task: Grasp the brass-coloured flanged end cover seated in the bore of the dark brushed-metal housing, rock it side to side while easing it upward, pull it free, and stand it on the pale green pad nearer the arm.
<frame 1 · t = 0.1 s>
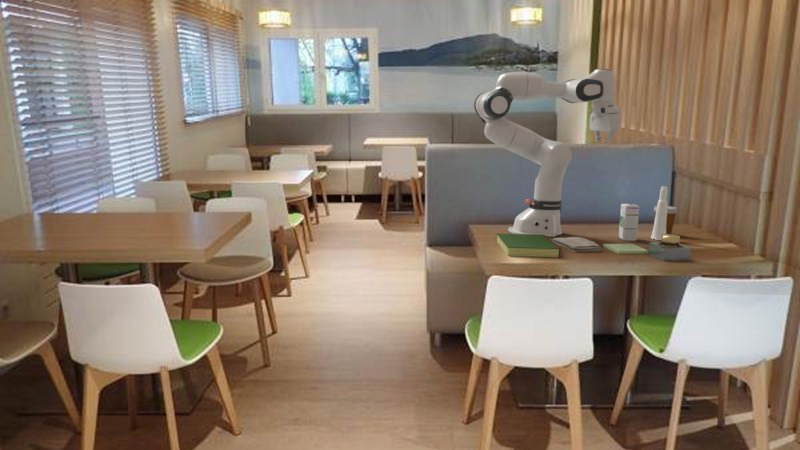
hand: (603, 142, 250), 39 cm above the table, tool pointing down, fingers open, 8 cm apart
syrup box: (626, 239, 244), on the table
disposable coffee cup: (662, 234, 257), on the table
pad: (625, 249, 224), on the table
washcloth: (575, 248, 228), on the table
housing: (668, 257, 214), on the table
hardcover book: (526, 250, 222), on the table
cosmetic bottle: (658, 239, 246), on the table
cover: (669, 246, 213), in the housing
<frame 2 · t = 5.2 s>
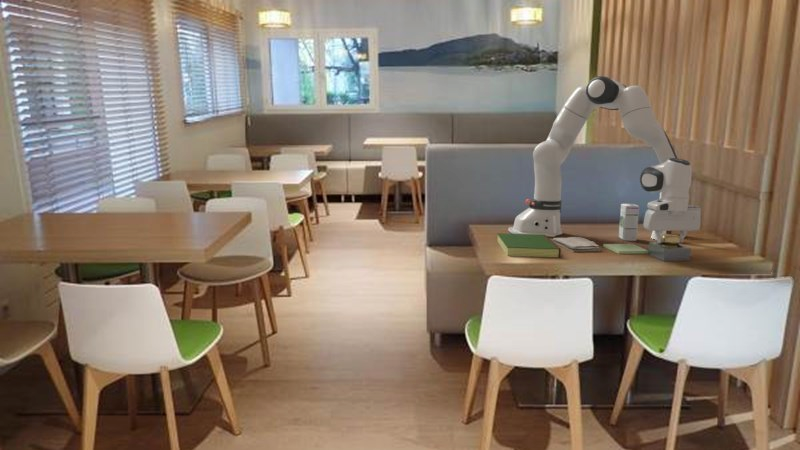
hand: (670, 242, 213), 5 cm above the table, tool pointing down, fingers closed on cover, 6 cm apart
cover: (669, 246, 213), in the housing, touching gripper
everything else where it was.
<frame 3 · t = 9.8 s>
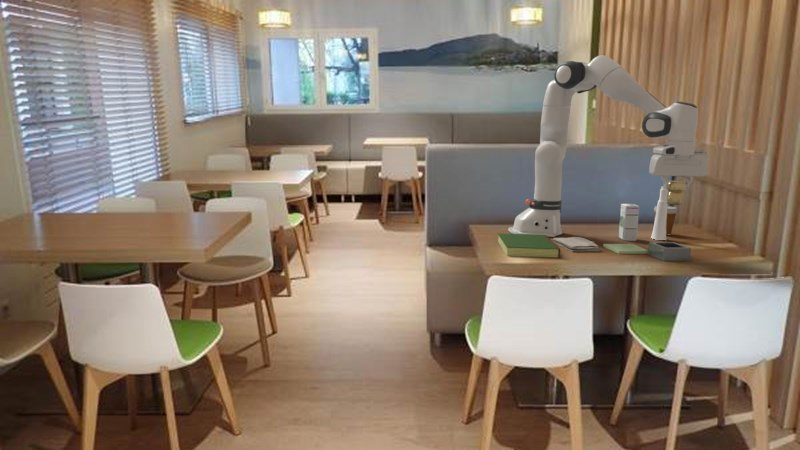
hand: (676, 188, 209), 25 cm above the table, tool pointing down, fingers closed on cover, 6 cm apart
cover: (675, 192, 210), point 24 cm above the table, touching gripper
everything else where it was.
when the fingers open (7 cm above the table, at t = 14.8 s): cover stays where it is, resting on pad.
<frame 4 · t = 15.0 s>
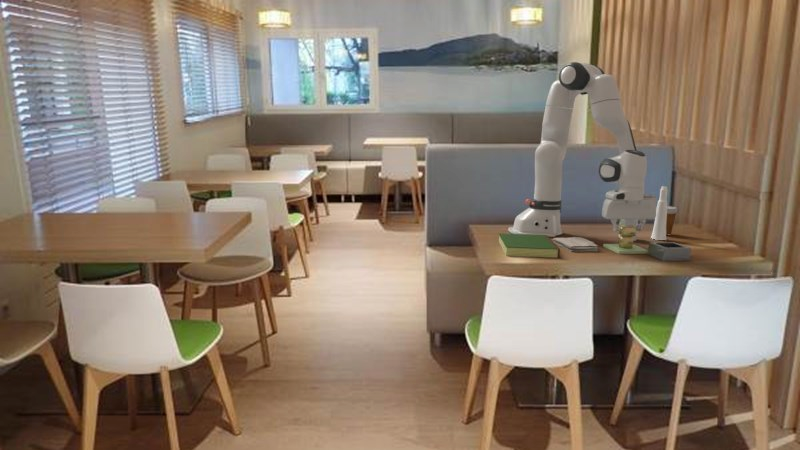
hand: (627, 230, 223), 7 cm above the table, tool pointing down, fingers open, 8 cm apart
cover: (626, 237, 223), on the pad, point 5 cm above the table
everything else where it was.
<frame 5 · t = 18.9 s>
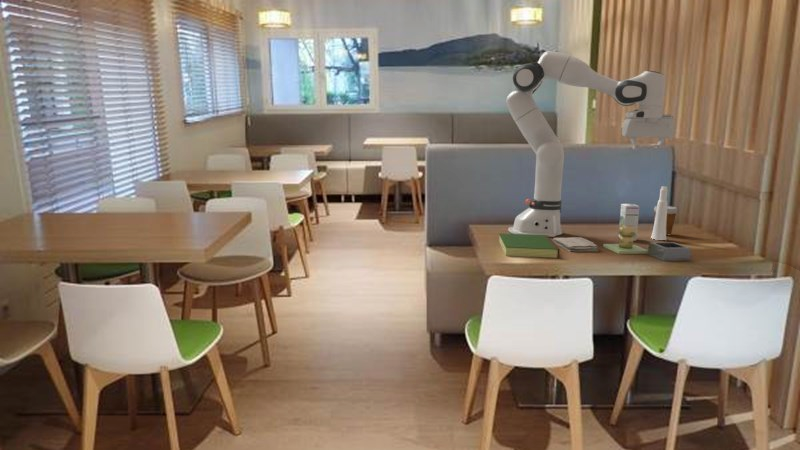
hand: (646, 149, 234), 37 cm above the table, tool pointing down, fingers open, 8 cm apart
nothing on the table moved.
at the end: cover inside the target area on the pad (0.0 cm from its centre), point 5.0 cm above the pad's base; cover tilted 0°; the gripper is holding nothing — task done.
